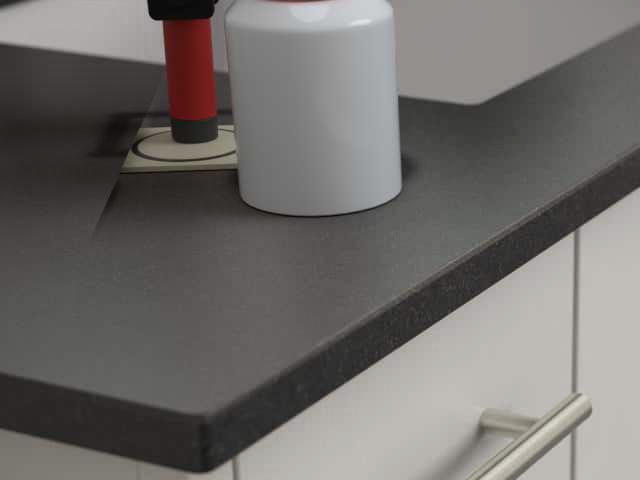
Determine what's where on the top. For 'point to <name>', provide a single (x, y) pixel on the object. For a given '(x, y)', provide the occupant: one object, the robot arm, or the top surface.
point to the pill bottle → (314, 104)
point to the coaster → (180, 152)
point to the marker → (190, 80)
